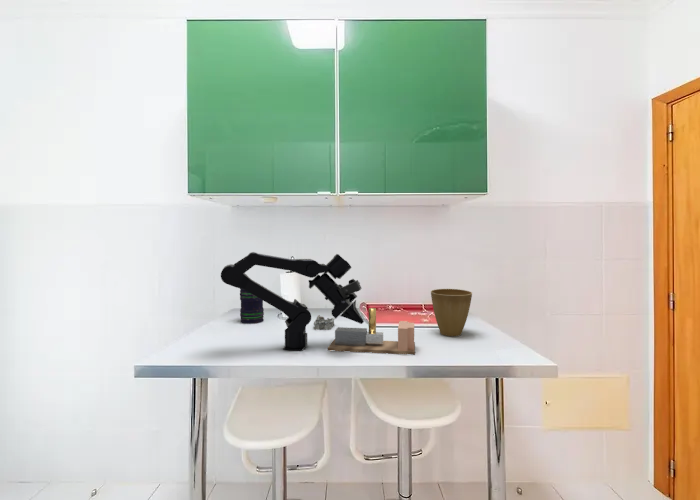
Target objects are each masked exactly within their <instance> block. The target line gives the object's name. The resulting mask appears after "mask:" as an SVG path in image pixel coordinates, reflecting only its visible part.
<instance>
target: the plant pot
mask: <svg viewBox="0 0 700 500" xmlns="http://www.w3.org/2000/svg"><path fill="white" fill-rule="evenodd" d="M430 295H431V296H430V297H431V302H432V303H431V304H432V308H433V313H434V316H435V317H434V318H435V321H436V324H437V327H438V330H439V332H440V334H441V335H442V336H445V337H460V336H461V335H462V333H463V331H464V328H465V326H466V322H467V321H468V320H467V319H468V317H469V312H470V308H471V303H472V297H473V292H472V291H469V290H465V289H458V288H435V289H432V290H430Z"/></svg>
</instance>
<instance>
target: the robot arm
mask: <svg viewBox="0 0 700 500" xmlns="http://www.w3.org/2000/svg"><path fill="white" fill-rule="evenodd" d="M255 266H260V267H266V268H272V269H273V268H274V269H279V270H284V271H290V272H294V273H295V274H299V275H301V276H304V277H307V278H309V280H308V288H309V289H313V287H314V286H315V288H316V289H317V290H318V291H319V292H320V293H321V294H322V295H323V296H324V299H325V300H326V301H329V303H331V304H332V305H333V308H332V309H331V316H333V318H335V320H336V319H337V318H338V317H339V316H340V317H343V318H346V319H348V320H349V321H350V320H351V321H354V322H355V323H358V324H359V325H362V324H363V323H364V322H365V321H364V319H363V317H362V315H361V314H360V312H359V311H358V308H357V306H356V305H357V299H356V298H358V295H357V294H356V293H357V292H359V291H361V290H362V286H361V282H360V281H359V280H358V279H357V280H355V279H354V278H352V279H350V280H349V281H348V284H346V285H344V286H343V285H342V284H338V283H337V282H336V281H335V280H336V279H339V280H341V279H342V277H344V276H345V275H346V274H347V273H348V272H349V271H350V270H351V269H352V266H351V264H350V263H349V262H348V261H347V260H345V259H344V258H343V257H342V256H341V255H340V254H338V253H336V254H335V255H334V256H333V257H332V259H331V260H330V261H329V262H327V263H326V264H324V263H319V262H318V261H316V260H314V259H311V258H296V259H295V258H293V259H292V258H286V257H280V256H273V255H268V254H264V253H258V252H255V251H252V252H249V253H248V255H246V256H244V257H243V258H241V259H240V260H238V261H237V262H235V263H234V264H231V263H229V264H227V265H225V266H224V267H223V268H222V270H221V272H220V279H221V281H222V282H223V283H224V284H226V285H229V286H230V287H234V288H236V289H237V288H238V289H243V290H246V291H248V292H250V293H251V294H253V295H255V296H256V297H258V298H260V299H262V300H263V302H265V303H267V304H269V305H270V306H272V307H273V308H276V309H277V310H279V311H280V312H282V313H283V314H284V315H285V316H287V317H288V318H286V319H285V320H284V323H285V325H286V328H285V329H284V347H283V348H282V350H284V351H288V350H289V351H304V349H306V347H307V346H308V332H307V329H306V327H307V326H308V325H309V324H310V322H311V320H312V313H311V312H310V310H308V309H309V308H308V306H307V305H306V304H305V303H301V302H299V301H298V300H297V299H296V298H294V300H293V301H290V300H287V299H285V298H284V297H282V296H281V295H279V294H277V293H275V292H273V291H271V290H270V289H268V288H267V287H265V286H264V285H262V284H260V283H258V282H257V281H255V280H253V279H251V277H249V276H248V274H246V272H248V271H249V270H250V269H252V268H253V267H255ZM320 274H321V275H320ZM310 278H313V279H310Z"/></svg>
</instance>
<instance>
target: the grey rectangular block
mask: <svg viewBox="0 0 700 500" xmlns="http://www.w3.org/2000/svg"><path fill="white" fill-rule="evenodd" d="M366 332H368V328H367V327H366V328H365V327H364V328H363V327H362V328H361V327H343V326H341V327H340V326H338V327H337V328H336V329H335V330H334V339H335V345H342V346H364V347H365V346H366V344H367V343H366Z"/></svg>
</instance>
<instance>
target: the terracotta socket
mask: <svg viewBox="0 0 700 500" xmlns="http://www.w3.org/2000/svg"><path fill="white" fill-rule="evenodd" d="M397 341H398V351H408V350H414V342H415V322H409V321H405V320H403V321H401V320H399V322H398V326H397Z"/></svg>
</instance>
